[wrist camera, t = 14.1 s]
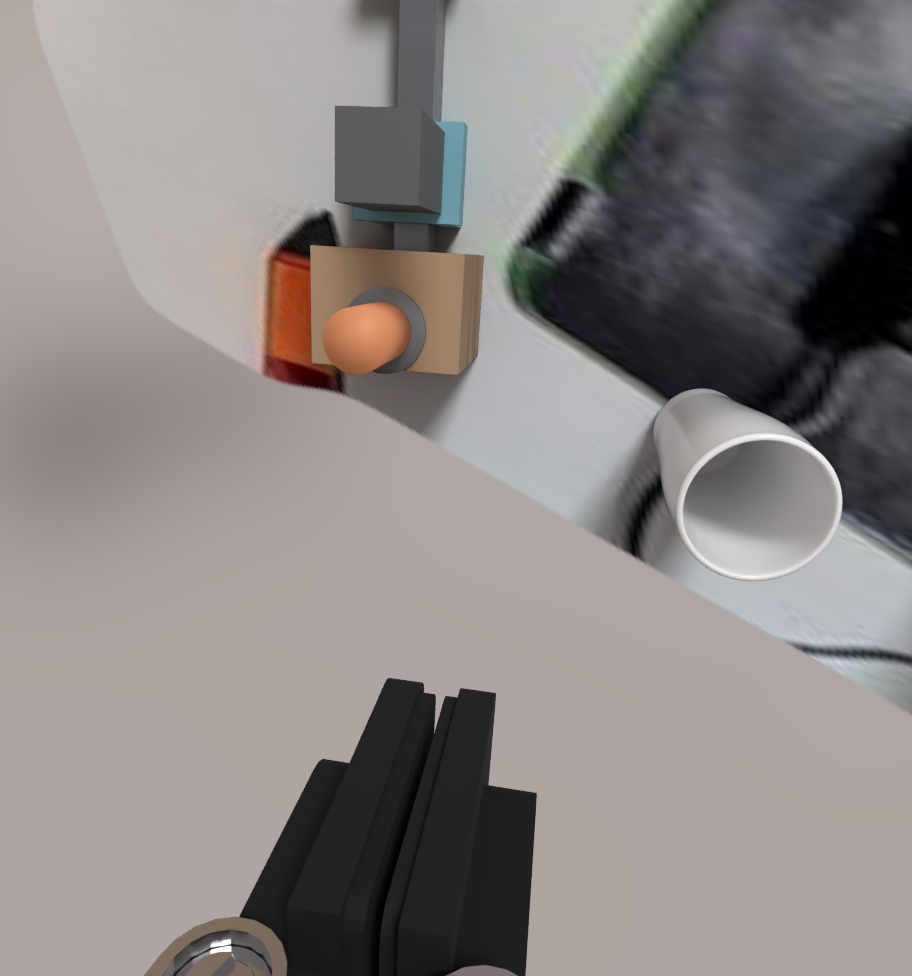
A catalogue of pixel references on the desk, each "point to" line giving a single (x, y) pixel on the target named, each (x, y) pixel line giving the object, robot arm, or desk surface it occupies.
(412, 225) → the rail
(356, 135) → the carriage
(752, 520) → the drinking glass
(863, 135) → the desk surface
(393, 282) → the tan box
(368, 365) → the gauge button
